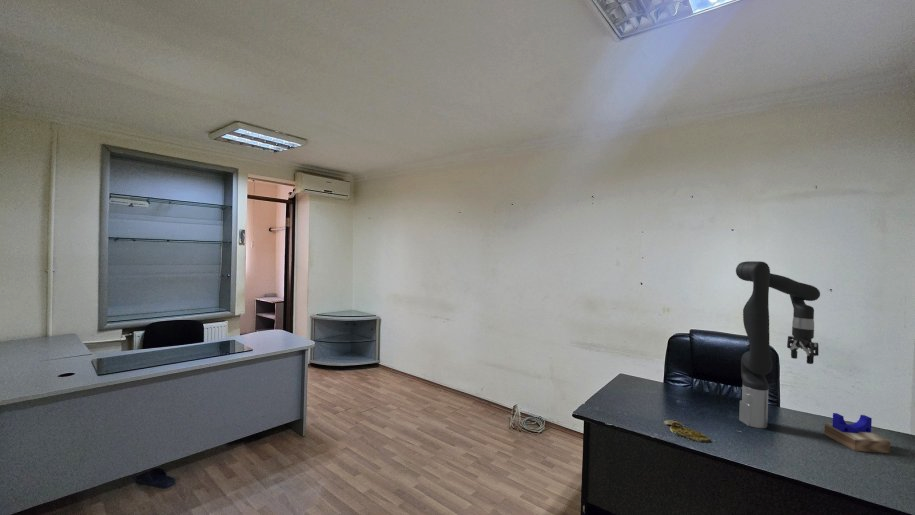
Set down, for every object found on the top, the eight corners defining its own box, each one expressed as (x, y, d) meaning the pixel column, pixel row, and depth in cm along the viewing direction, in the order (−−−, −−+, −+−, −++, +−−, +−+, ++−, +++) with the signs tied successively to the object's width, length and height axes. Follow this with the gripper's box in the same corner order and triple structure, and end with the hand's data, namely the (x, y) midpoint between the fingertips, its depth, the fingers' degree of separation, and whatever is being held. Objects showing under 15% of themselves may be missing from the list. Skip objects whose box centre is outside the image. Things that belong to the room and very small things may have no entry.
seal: (711, 440, 153) (671, 428, 162) (712, 429, 153) (672, 417, 163) (709, 446, 146) (667, 433, 155) (710, 435, 146) (668, 422, 156)
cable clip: (842, 432, 150) (842, 417, 149) (832, 426, 154) (832, 412, 154) (874, 434, 148) (875, 420, 148) (863, 429, 153) (864, 415, 153)
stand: (854, 450, 145) (854, 438, 144) (824, 434, 157) (824, 423, 157) (889, 452, 143) (890, 440, 143) (856, 436, 156) (857, 424, 156)
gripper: (825, 330, 164) (824, 366, 164) (798, 324, 178) (797, 357, 178) (807, 330, 164) (806, 365, 165) (782, 323, 178) (781, 356, 179)
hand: (801, 360), depth 171 cm, fingers open, 8 cm apart
